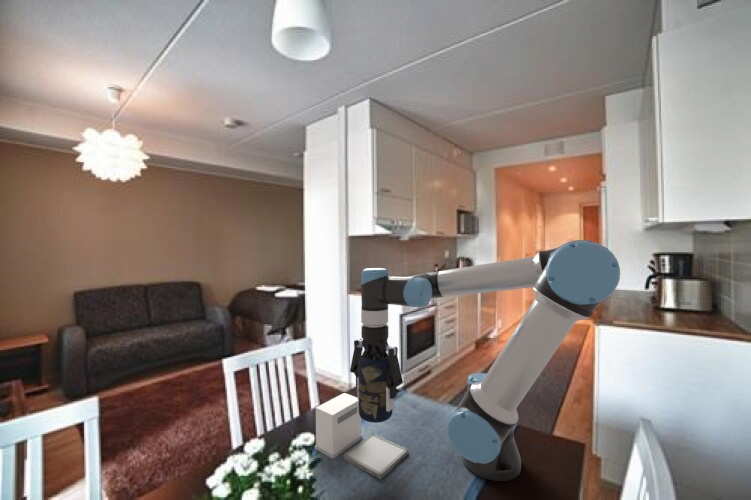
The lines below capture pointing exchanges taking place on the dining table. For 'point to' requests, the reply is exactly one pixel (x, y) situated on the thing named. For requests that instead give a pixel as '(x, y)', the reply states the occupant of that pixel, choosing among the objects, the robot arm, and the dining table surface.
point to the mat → (376, 455)
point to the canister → (373, 389)
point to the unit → (337, 425)
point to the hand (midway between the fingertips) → (375, 403)
